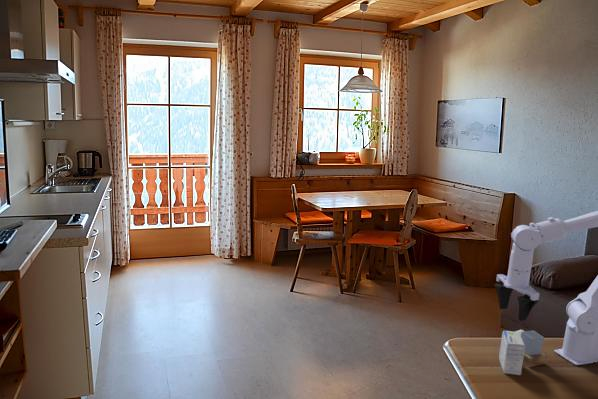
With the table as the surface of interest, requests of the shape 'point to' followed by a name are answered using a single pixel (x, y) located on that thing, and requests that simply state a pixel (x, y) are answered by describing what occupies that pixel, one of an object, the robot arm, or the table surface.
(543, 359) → the tan square block
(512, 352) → the medicine box
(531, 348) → the slate block
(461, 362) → the table surface
